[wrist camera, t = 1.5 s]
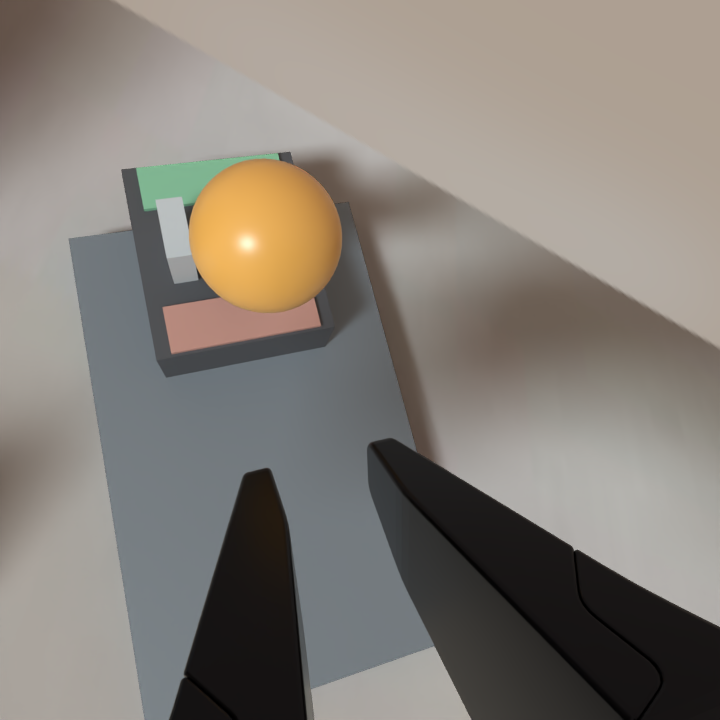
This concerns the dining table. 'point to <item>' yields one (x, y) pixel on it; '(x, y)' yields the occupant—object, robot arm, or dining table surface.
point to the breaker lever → (265, 235)
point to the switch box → (238, 434)
